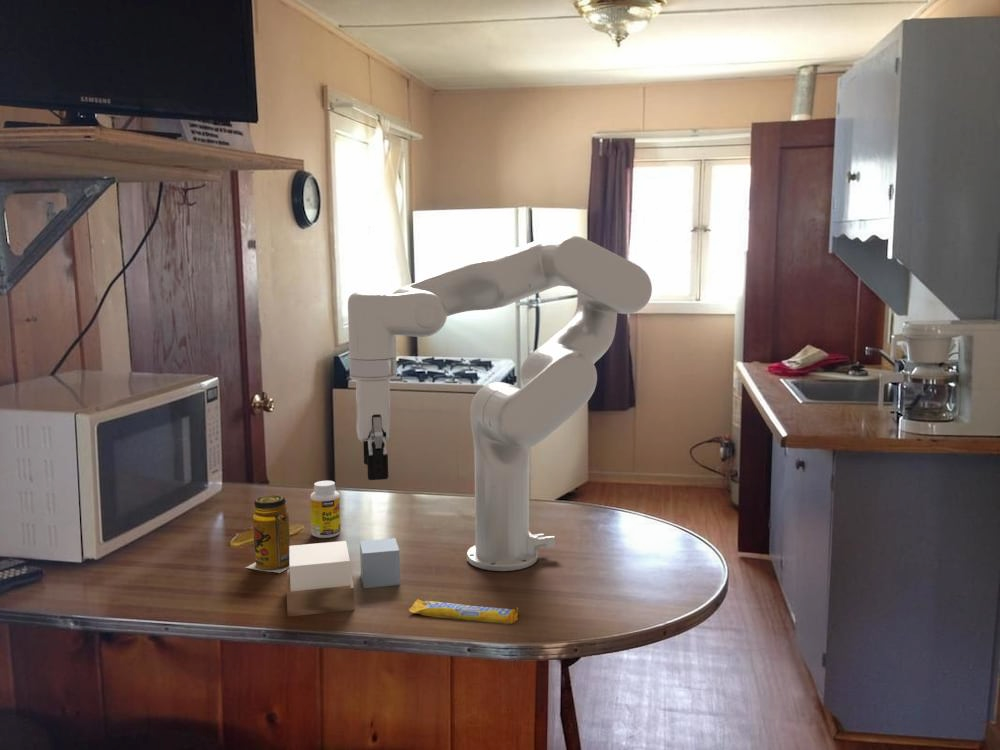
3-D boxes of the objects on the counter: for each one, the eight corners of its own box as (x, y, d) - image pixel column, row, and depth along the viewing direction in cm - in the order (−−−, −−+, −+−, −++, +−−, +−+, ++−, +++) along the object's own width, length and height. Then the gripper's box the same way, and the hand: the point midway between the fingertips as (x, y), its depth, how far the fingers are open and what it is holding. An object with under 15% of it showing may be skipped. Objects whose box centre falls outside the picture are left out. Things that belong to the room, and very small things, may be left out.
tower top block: (346, 564, 141) (346, 540, 140) (350, 585, 132) (349, 560, 131) (290, 569, 138) (289, 545, 138) (290, 591, 130) (289, 566, 129)
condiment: (244, 568, 149) (241, 501, 147) (274, 552, 156) (271, 488, 155) (279, 574, 146) (276, 506, 144) (308, 557, 154) (305, 492, 152)
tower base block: (350, 586, 141) (350, 563, 141) (354, 612, 132) (353, 587, 131) (288, 592, 139) (287, 569, 138) (287, 619, 129) (286, 594, 129)
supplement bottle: (321, 541, 162) (319, 489, 160) (306, 534, 166) (303, 483, 164) (346, 534, 166) (344, 483, 164) (330, 527, 170) (328, 477, 168)
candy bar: (522, 616, 130) (522, 605, 130) (516, 628, 126) (516, 616, 126) (417, 606, 134) (416, 595, 133) (408, 618, 130) (407, 606, 129)
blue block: (396, 571, 147) (395, 538, 146) (400, 585, 141) (399, 550, 140) (360, 574, 146) (359, 541, 145) (363, 588, 140) (362, 553, 139)
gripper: (347, 362, 146) (350, 459, 149) (352, 377, 129) (355, 487, 132) (391, 360, 147) (393, 457, 150) (402, 375, 131) (404, 484, 133)
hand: (375, 471), depth 141 cm, fingers open, 9 cm apart
